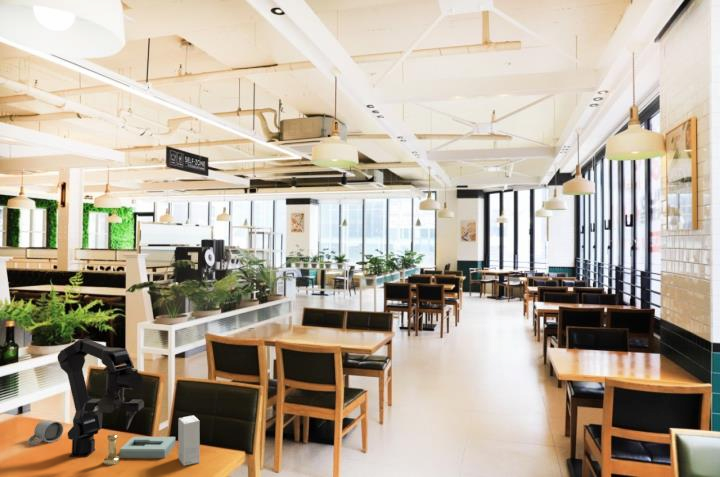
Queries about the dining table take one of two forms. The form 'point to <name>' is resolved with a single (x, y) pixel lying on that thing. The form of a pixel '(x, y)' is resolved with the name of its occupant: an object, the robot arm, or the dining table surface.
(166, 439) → the keyhole plate
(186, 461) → the skincare box
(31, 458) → the dining table surface
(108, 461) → the brass door knob
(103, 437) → the dining table surface
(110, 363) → the robot arm
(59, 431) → the ceramic mug
